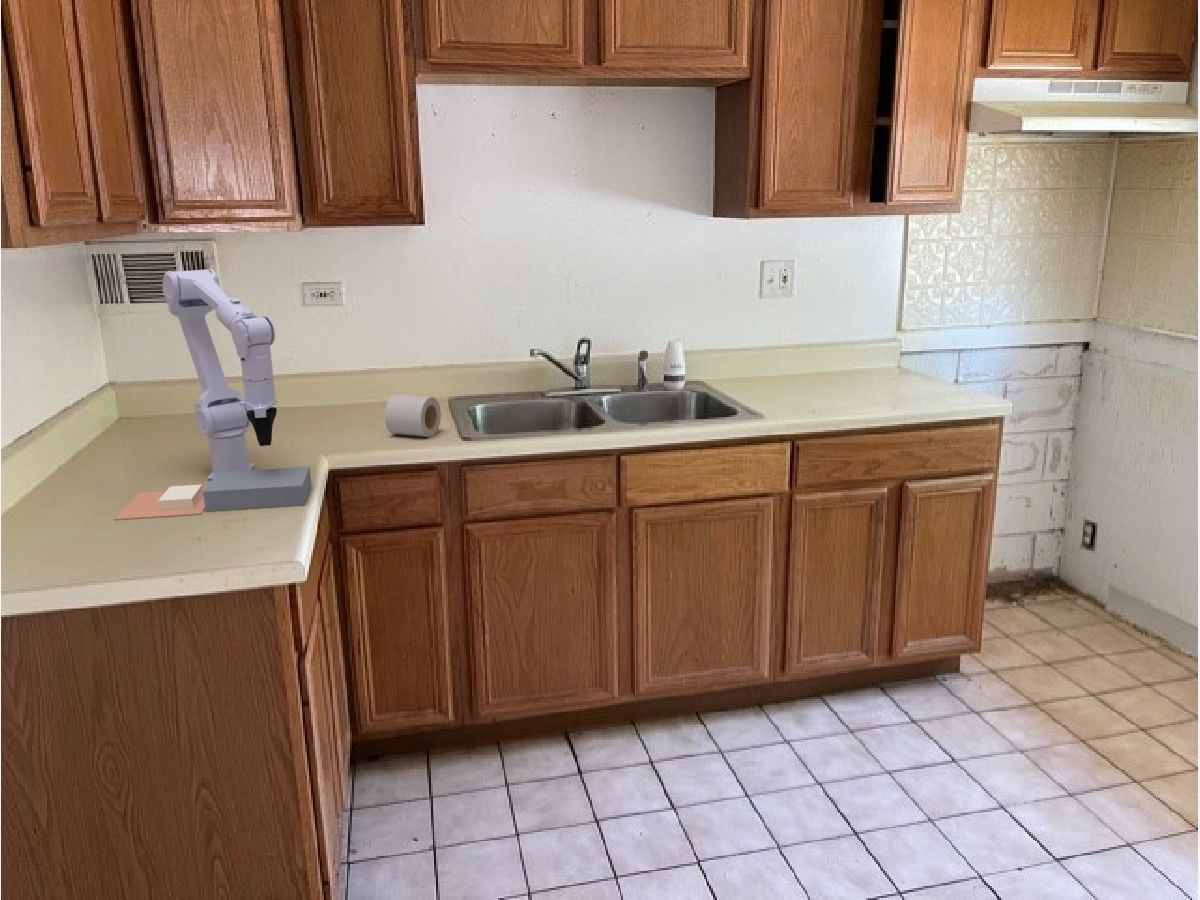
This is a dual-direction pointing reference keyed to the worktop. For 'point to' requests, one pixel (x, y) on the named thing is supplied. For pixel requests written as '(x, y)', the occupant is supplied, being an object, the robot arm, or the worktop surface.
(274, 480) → the plate
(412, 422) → the toilet paper
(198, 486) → the white rectangular block
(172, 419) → the worktop surface
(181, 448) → the worktop surface
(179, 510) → the terracotta mat
